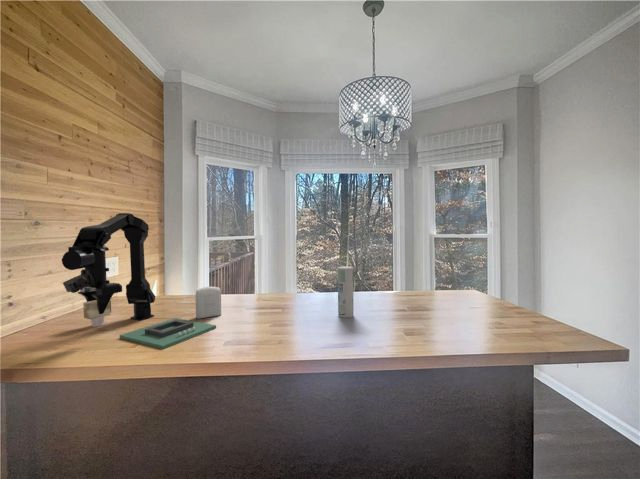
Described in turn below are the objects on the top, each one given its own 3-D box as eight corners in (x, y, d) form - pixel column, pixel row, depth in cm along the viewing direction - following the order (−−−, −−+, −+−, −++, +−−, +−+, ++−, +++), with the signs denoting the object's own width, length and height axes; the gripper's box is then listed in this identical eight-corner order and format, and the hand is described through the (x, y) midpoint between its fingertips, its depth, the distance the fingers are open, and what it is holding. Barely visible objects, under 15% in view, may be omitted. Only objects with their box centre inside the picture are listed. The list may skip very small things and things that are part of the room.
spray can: (356, 316, 131) (356, 267, 130) (342, 318, 129) (341, 268, 128) (349, 312, 137) (349, 265, 136) (335, 314, 135) (335, 266, 134)
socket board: (119, 338, 109) (119, 330, 109) (175, 320, 129) (175, 314, 128) (163, 349, 99) (162, 341, 99) (216, 328, 119) (216, 321, 118)
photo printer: (219, 313, 139) (219, 284, 138) (222, 315, 135) (222, 286, 134) (194, 317, 133) (193, 287, 132) (197, 319, 129) (196, 289, 129)
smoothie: (111, 323, 125) (110, 288, 124) (94, 328, 119) (92, 291, 119) (101, 321, 128) (99, 286, 127) (83, 326, 122) (82, 290, 121)
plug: (84, 318, 104) (83, 302, 103) (106, 312, 110) (105, 298, 110) (91, 319, 102) (90, 304, 102) (113, 314, 108) (112, 299, 108)
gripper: (50, 267, 102) (53, 316, 103) (83, 270, 93) (86, 323, 94) (89, 263, 112) (91, 307, 112) (122, 266, 103) (124, 314, 104)
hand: (97, 313), depth 105 cm, fingers closed on plug, 4 cm apart
